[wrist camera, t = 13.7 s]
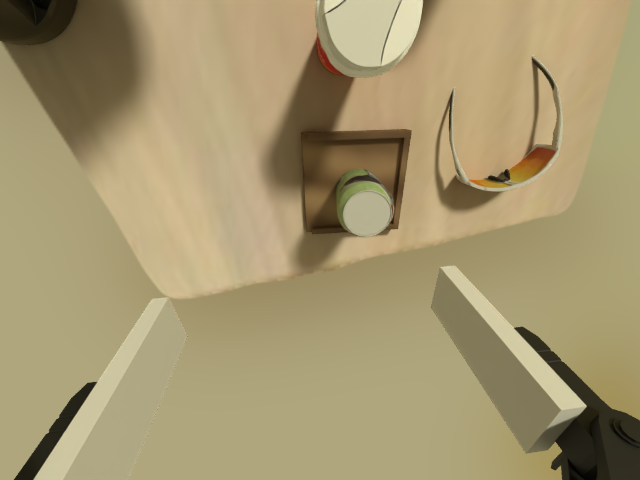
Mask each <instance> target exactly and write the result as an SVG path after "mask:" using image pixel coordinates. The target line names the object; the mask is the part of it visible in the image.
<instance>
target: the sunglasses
mask: <svg viewBox="0 0 640 480" xmlns="http://www.w3.org/2000/svg"><path fill="white" fill-rule="evenodd" d="M532 60H533V62H534V64H535V65H536V66H537V67H538V68H539V69H540V70H541V71H542V72H543V73H544V75H545V76H546V78H547V79H548V81H549V83H550V85H551V88H552V91H553V98H554V102H555V106H556V111H557V121H556V126H555V129H554V132H553V141H552V145H545V144H536V145H535V146H534V147H533V148H532V149H531V150H530V151H529V153H528V154H527V155H526V156H525V157H524V158H523V159H522V160H521V162H519V163H518V164H517V165H516V166H514V167H513V168H511V169H509V170H508V169H506V170H505V172H504V175H505V177H506V179H504V180H502V179H499V178H497V177H495V176H491V175H490V176H489V177H488V179H487V178H486V179H484V180H471V179H469V178H467V177H466V175H465V173H464V171H463V169H462V167H461V165H460V163H459V160H458V158H457V155H456V152H455V147H454V141H453V107H454V97H455V88H454V89H453V92H452V95H451V100H450V110H449V141H450V145H451V149H452V154H453V159H454V164H455V169H456V172H457V173H458V175H456V178H457V179H458V180H459V181H460V182H462V183H464V184H467V185H469V186H472V187H474V188H477V189H480V190H484V191H493V192H500V191H508V190H513V189H516V188H519V187H522V186H524V185H527V184H528V183H530V182H532V181H534V180H535V179H537V178H538V177H540V176H541V175H542V174H543V173H545V172H546V171H547V170H548V169H549V168H550V166H551V164H552V163H553V162H554V161H555V159H556V158H557V156H558V155H559V153H560V146H561V139H562V128H563V122H562V108H561V100H560V94H559V88H558V85H557V83H556V81H555V79H554V78H553V76H552V75H551V73H550V72H549V71H548V69H547V68H546V67H545V66H544V65H543V64H542V63H541V62H540V61H539V60H538V59H537V58H536V57H535V56H532Z"/></svg>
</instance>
